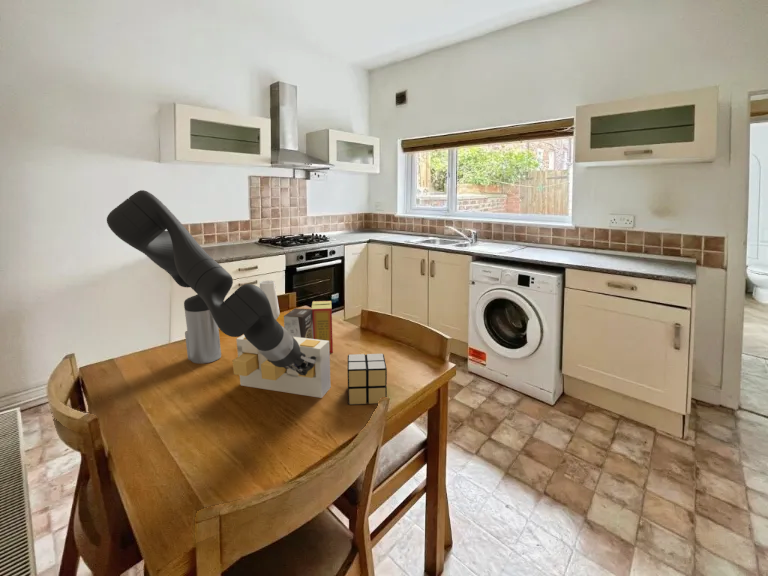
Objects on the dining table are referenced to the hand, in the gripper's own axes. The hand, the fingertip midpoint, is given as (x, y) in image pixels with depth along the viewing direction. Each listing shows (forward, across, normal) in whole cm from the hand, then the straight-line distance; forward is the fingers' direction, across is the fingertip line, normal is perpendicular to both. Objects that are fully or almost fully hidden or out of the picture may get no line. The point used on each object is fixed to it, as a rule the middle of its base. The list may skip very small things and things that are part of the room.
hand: (304, 371), depth 108 cm
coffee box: (+22, -13, +10) cm, 27 cm away
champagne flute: (+24, -26, +13) cm, 38 cm away
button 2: (+1, -9, -2) cm, 9 cm away
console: (+9, -9, -2) cm, 12 cm away
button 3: (+4, 0, +1) cm, 4 cm away
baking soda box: (+29, -10, +18) cm, 36 cm away
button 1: (+1, -17, -2) cm, 17 cm away
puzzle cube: (+10, +15, -1) cm, 18 cm away
